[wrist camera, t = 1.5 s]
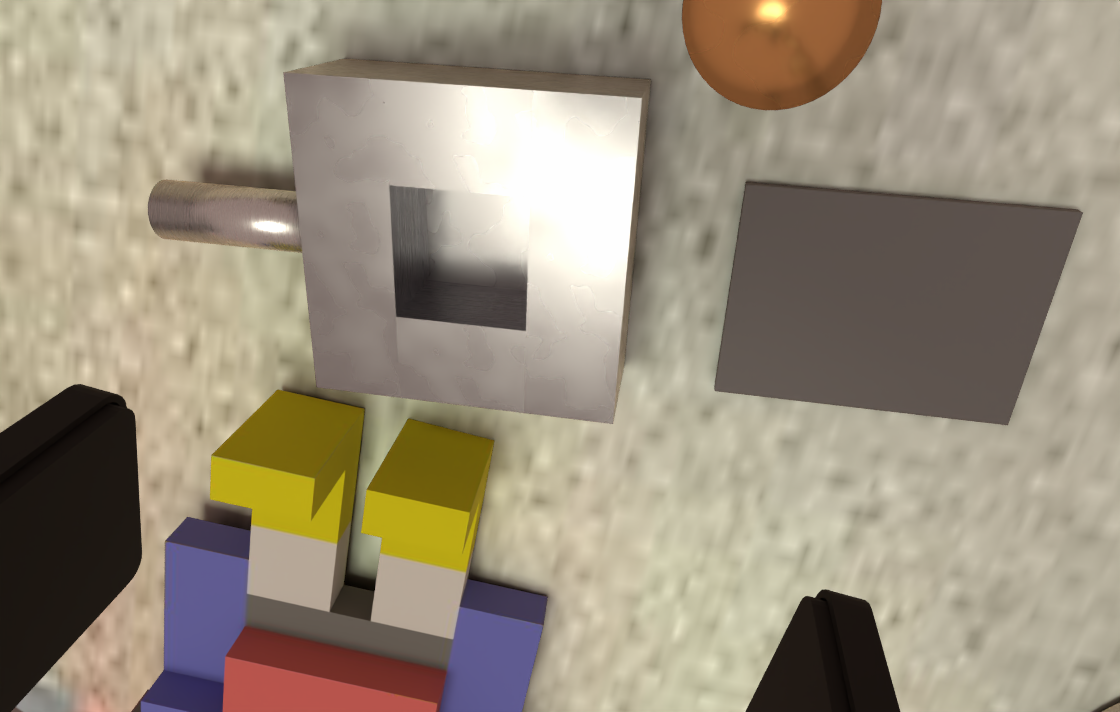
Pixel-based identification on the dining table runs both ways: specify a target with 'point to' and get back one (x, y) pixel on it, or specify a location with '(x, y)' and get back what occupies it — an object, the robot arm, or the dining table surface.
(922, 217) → the mat
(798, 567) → the dining table surface
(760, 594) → the dining table surface
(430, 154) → the block
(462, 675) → the toy
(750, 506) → the dining table surface
